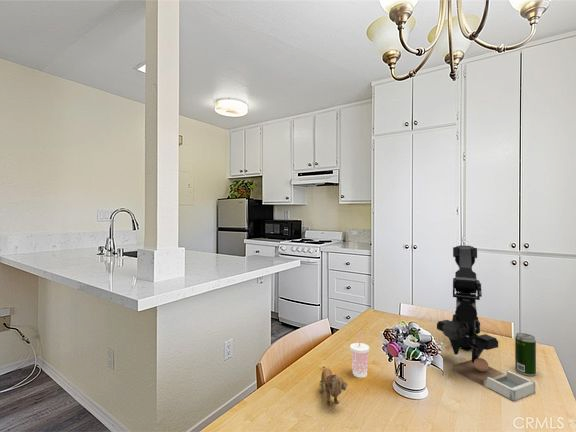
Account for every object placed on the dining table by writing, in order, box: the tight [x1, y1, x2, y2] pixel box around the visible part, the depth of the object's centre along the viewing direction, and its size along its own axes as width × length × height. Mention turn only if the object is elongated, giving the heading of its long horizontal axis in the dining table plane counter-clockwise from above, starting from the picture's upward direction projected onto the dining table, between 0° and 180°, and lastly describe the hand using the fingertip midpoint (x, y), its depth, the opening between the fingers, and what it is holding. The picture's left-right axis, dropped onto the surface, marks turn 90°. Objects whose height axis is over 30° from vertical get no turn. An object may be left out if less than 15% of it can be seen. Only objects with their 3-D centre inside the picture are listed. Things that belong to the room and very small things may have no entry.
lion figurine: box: [319, 367, 349, 407], centre depth 88 cm, size 15×5×9 cm, turn 16°
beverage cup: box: [350, 331, 370, 379], centre depth 101 cm, size 6×6×14 cm
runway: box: [452, 359, 507, 388], centre depth 99 cm, size 12×10×2 cm
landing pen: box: [486, 370, 536, 402], centre depth 91 cm, size 8×10×3 cm
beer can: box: [514, 332, 537, 377], centre depth 100 cm, size 5×5×12 cm
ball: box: [474, 357, 489, 372], centre depth 99 cm, size 4×4×4 cm
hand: (464, 358), depth 104 cm, fingers open, 6 cm apart
